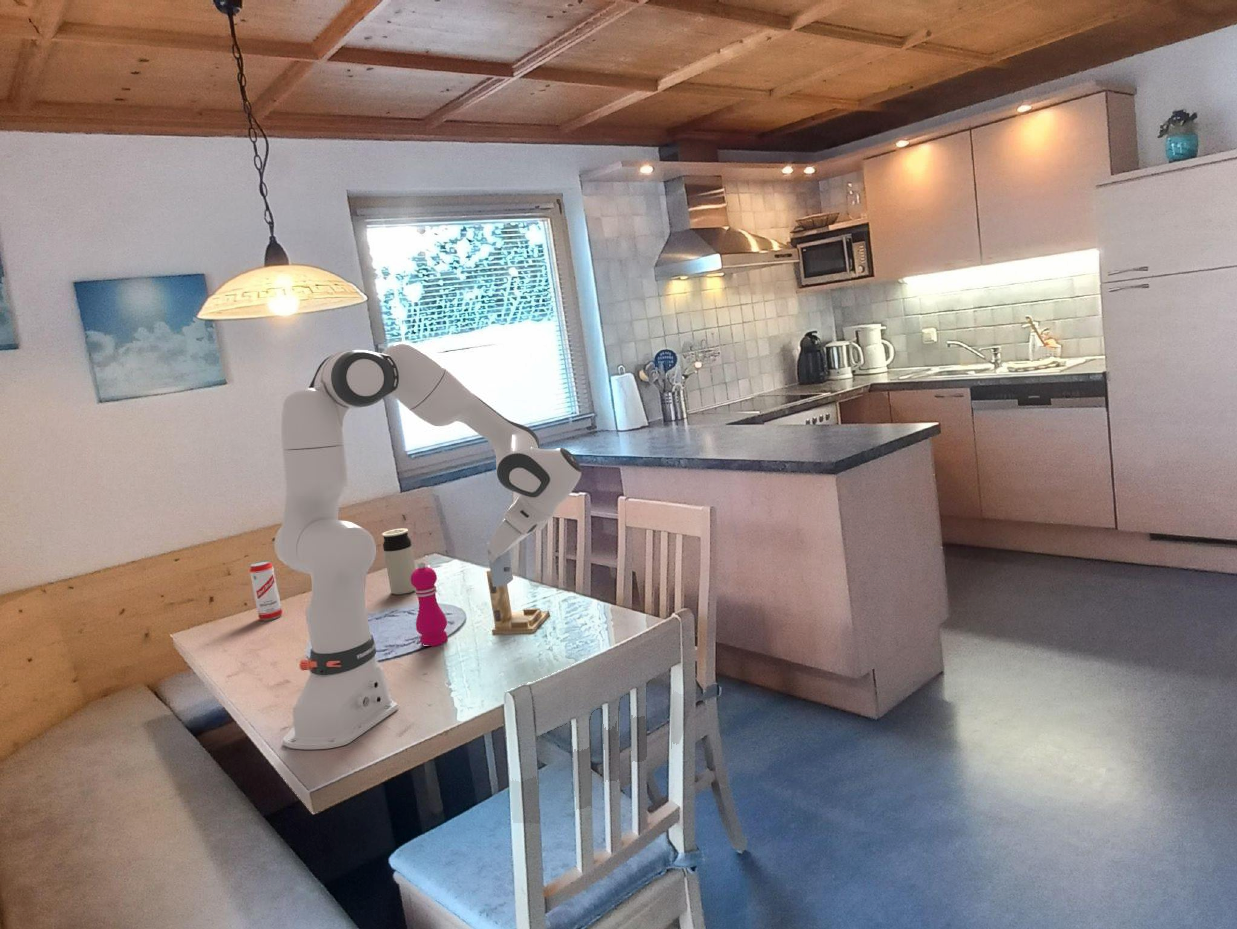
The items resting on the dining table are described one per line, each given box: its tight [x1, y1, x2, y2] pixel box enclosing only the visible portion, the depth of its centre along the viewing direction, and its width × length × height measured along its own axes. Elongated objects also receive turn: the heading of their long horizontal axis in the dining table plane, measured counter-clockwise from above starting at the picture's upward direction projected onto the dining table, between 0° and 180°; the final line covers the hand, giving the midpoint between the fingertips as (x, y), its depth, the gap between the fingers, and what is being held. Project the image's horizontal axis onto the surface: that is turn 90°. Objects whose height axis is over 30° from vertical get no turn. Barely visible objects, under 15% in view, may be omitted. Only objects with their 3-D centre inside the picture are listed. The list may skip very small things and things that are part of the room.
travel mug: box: [381, 527, 417, 596], centre depth 243 cm, size 8×8×18 cm
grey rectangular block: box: [486, 542, 514, 587], centre depth 189 cm, size 5×4×10 cm
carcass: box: [486, 568, 550, 635], centre depth 201 cm, size 12×10×15 cm
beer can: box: [249, 560, 283, 622], centre depth 234 cm, size 6×6×16 cm
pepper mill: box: [411, 560, 448, 647], centre depth 196 cm, size 7×7×20 cm
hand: (496, 556), depth 189 cm, fingers closed on grey rectangular block, 5 cm apart
